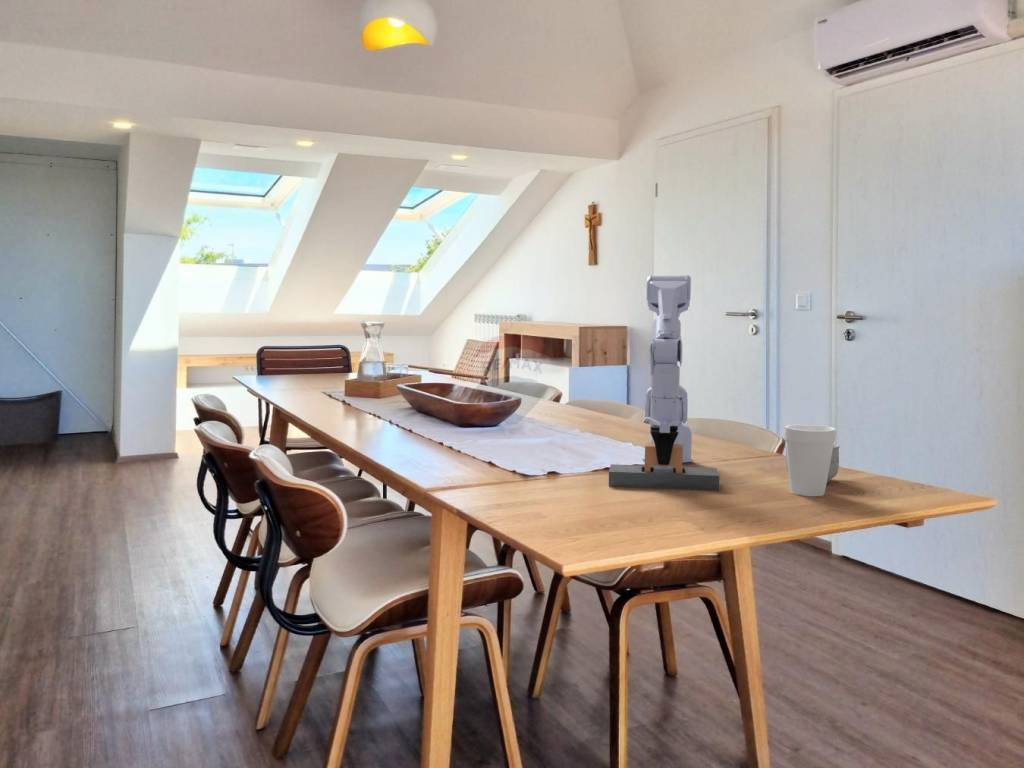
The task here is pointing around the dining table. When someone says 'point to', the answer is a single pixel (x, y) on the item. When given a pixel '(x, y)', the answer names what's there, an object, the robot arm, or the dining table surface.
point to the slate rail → (664, 477)
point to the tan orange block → (675, 458)
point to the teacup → (833, 464)
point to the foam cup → (809, 457)
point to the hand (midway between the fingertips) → (663, 462)
